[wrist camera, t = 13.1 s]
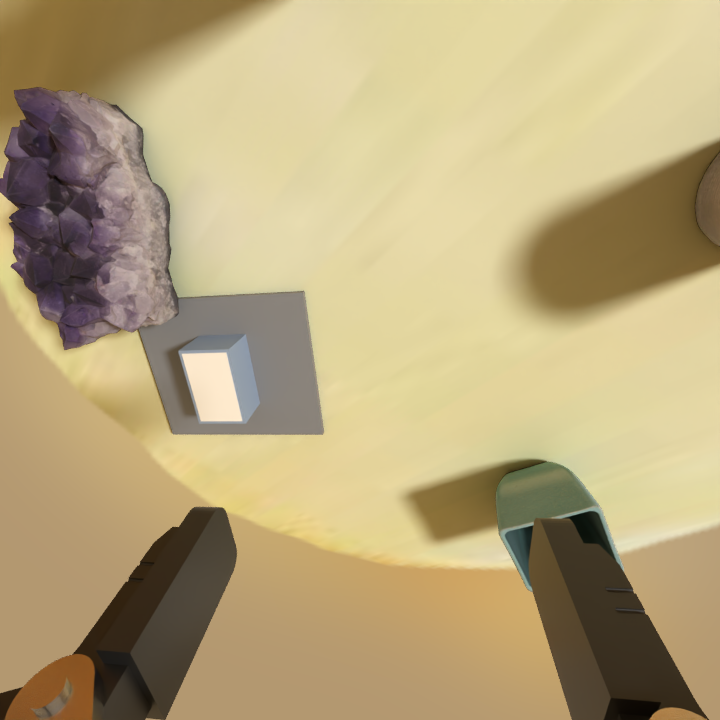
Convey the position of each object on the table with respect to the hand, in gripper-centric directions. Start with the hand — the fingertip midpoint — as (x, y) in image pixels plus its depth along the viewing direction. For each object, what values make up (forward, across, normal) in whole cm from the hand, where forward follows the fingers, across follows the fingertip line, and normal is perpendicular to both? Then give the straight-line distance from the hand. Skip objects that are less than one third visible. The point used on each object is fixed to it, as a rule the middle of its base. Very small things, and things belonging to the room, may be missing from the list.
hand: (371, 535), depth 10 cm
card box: (+28, +18, +8) cm, 34 cm away
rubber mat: (+28, +18, +8) cm, 34 cm away
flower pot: (+28, -14, +23) cm, 39 cm away
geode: (+28, +26, -7) cm, 38 cm away
